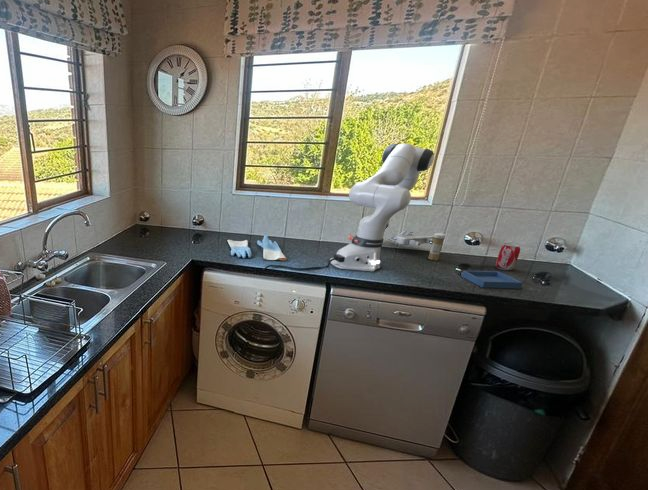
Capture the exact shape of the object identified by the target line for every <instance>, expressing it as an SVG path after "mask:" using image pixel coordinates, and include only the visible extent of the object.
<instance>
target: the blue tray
mask: <svg viewBox="0 0 648 490" xmlns="http://www.w3.org/2000/svg"><path fill="white" fill-rule="evenodd" d="M460 276H461V277H462V278H463V279H465V280H467V281H469V282H470V283H472V284H475V285H477V286H478V287H481V288H482V289H485V288H486V289H517V290H519V289H521V288H522V285H523V281H520V280H518V279H516V278H514V277H511V276H510V275H507V274H506V273H503V272H501V271H499V270H497V271H496V270H462V272H461V275H460Z"/></svg>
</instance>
